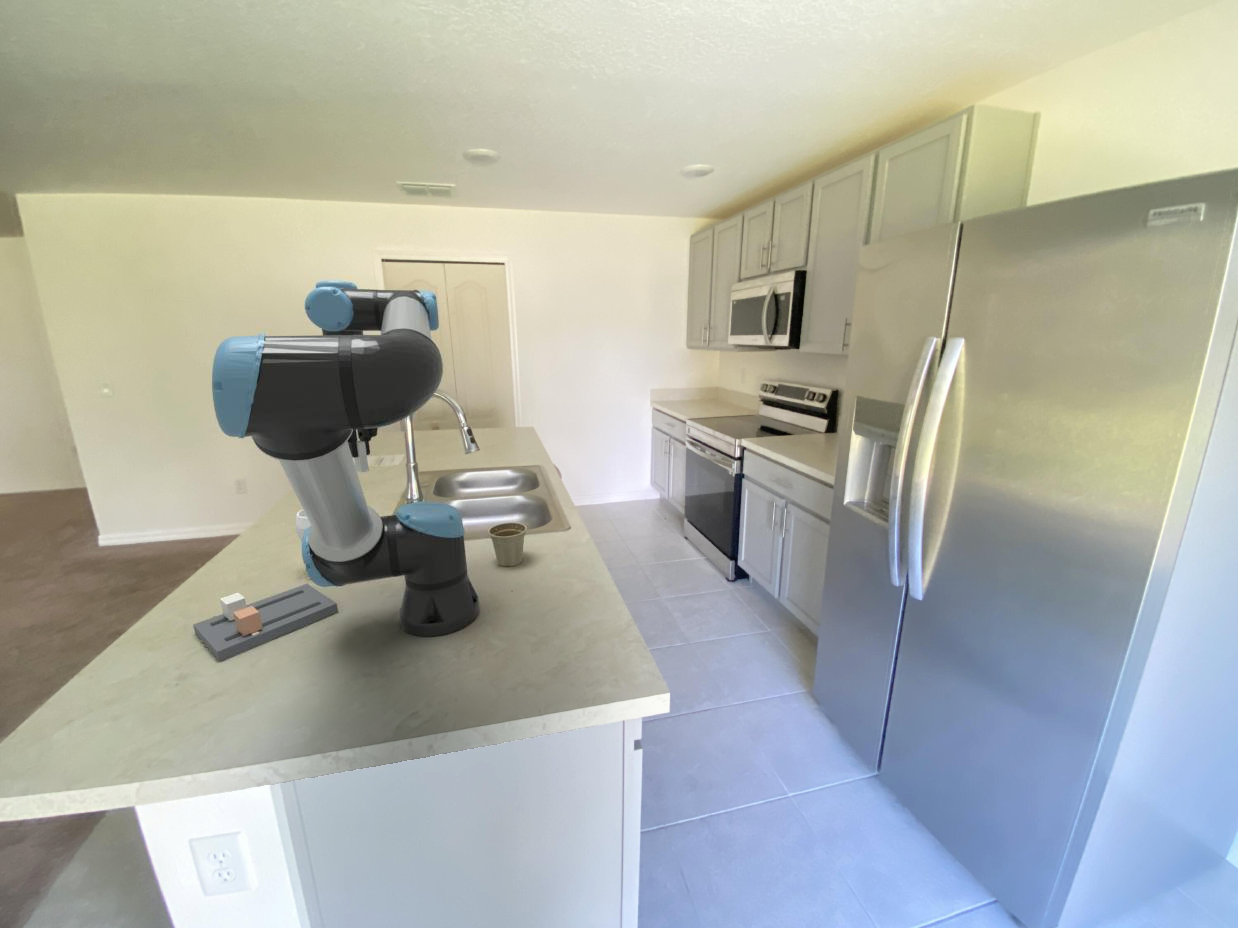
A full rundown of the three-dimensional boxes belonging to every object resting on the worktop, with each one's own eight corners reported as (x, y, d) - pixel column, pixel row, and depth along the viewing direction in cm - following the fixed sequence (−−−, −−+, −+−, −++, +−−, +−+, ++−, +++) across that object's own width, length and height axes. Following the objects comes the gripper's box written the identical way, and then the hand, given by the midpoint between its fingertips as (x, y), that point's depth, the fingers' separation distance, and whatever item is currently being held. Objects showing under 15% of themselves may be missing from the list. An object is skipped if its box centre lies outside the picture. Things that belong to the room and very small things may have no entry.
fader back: (248, 614, 98) (244, 598, 97) (229, 620, 95) (226, 604, 94) (241, 608, 100) (238, 592, 99) (223, 614, 97) (219, 598, 97)
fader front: (262, 628, 93) (259, 611, 92) (243, 636, 91) (239, 619, 90) (255, 622, 95) (251, 605, 94) (236, 629, 93) (232, 612, 92)
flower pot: (483, 567, 122) (480, 534, 120) (500, 551, 131) (498, 520, 129) (518, 571, 120) (516, 538, 118) (534, 555, 129) (532, 523, 126)
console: (338, 612, 103) (336, 602, 102) (219, 661, 87) (217, 651, 87) (308, 591, 111) (307, 582, 110) (195, 633, 95) (192, 623, 95)
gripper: (369, 359, 110) (382, 462, 116) (305, 361, 100) (323, 474, 106) (386, 360, 106) (399, 467, 112) (321, 363, 96) (339, 480, 102)
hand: (362, 470), depth 109 cm, fingers closed
